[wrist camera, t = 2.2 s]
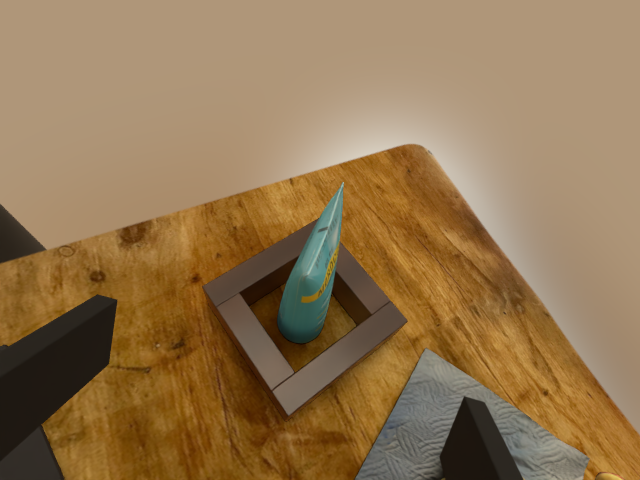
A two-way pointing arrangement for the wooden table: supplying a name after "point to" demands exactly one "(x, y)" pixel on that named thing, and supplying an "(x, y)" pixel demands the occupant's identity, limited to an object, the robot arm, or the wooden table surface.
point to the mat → (31, 458)
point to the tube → (312, 278)
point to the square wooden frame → (259, 349)
